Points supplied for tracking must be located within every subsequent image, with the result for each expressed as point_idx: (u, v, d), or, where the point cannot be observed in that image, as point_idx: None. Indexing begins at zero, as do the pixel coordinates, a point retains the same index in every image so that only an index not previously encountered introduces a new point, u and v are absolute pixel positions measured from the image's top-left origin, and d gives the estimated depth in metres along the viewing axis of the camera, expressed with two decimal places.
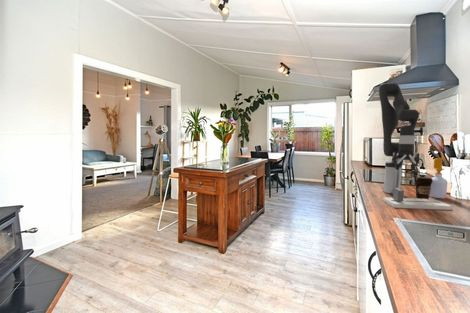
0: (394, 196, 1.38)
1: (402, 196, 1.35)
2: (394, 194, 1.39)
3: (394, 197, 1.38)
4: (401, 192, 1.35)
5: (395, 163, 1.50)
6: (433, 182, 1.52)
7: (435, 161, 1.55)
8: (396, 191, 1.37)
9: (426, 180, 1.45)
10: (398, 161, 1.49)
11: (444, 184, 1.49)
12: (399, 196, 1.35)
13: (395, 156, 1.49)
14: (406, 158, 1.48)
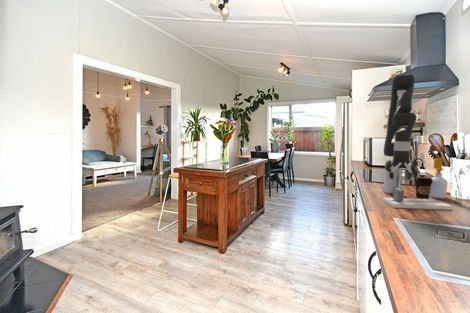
0: (394, 196, 1.38)
1: (402, 196, 1.35)
2: (394, 194, 1.39)
3: (394, 197, 1.38)
4: (401, 192, 1.35)
5: (389, 171, 1.37)
6: (433, 182, 1.52)
7: (435, 161, 1.55)
8: (396, 191, 1.37)
9: (426, 180, 1.45)
10: (392, 169, 1.35)
11: (444, 184, 1.49)
12: (399, 196, 1.35)
13: (389, 164, 1.35)
14: (401, 166, 1.35)
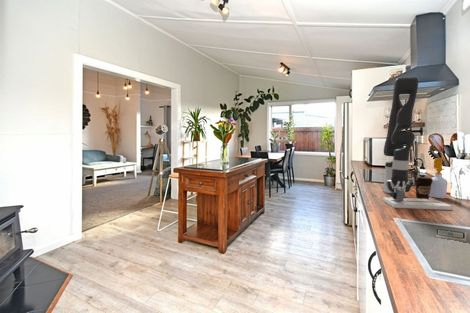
0: None
1: (402, 196, 1.35)
2: None
3: None
4: (402, 192, 1.35)
5: (392, 191, 1.38)
6: (433, 182, 1.52)
7: (435, 161, 1.55)
8: None
9: (426, 180, 1.45)
10: (395, 190, 1.36)
11: (444, 184, 1.49)
12: (399, 196, 1.35)
13: (389, 185, 1.36)
14: (399, 185, 1.36)
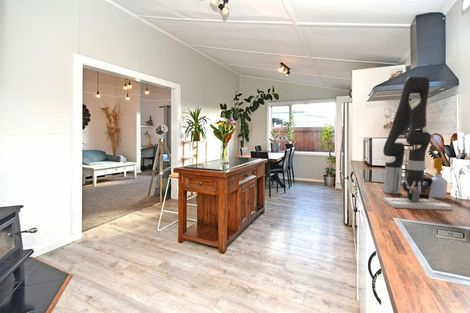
0: None
1: (418, 196, 1.34)
2: None
3: None
4: (417, 192, 1.34)
5: (407, 192, 1.37)
6: (433, 182, 1.52)
7: (435, 161, 1.55)
8: None
9: (426, 180, 1.45)
10: (410, 190, 1.35)
11: (444, 184, 1.49)
12: (414, 196, 1.34)
13: (405, 185, 1.35)
14: (415, 185, 1.35)
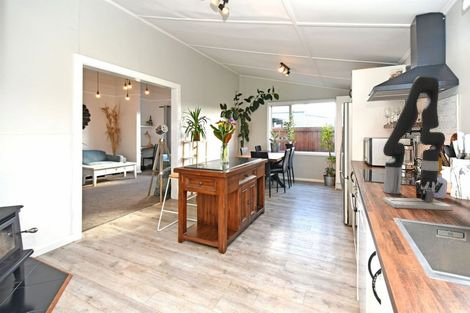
0: None
1: (432, 197, 1.33)
2: None
3: None
4: (431, 193, 1.33)
5: (421, 192, 1.36)
6: None
7: None
8: None
9: None
10: (424, 191, 1.35)
11: (444, 184, 1.49)
12: (428, 197, 1.33)
13: (418, 186, 1.35)
14: (429, 185, 1.34)
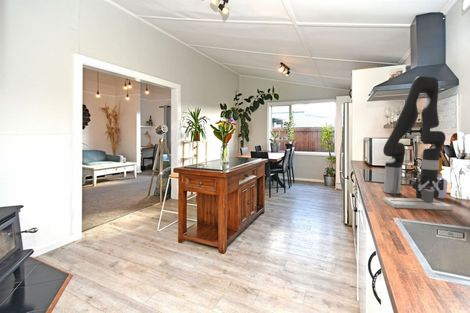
0: (423, 197, 1.36)
1: (432, 197, 1.33)
2: (423, 195, 1.37)
3: (423, 198, 1.37)
4: (431, 193, 1.33)
5: (416, 189, 1.36)
6: None
7: None
8: (425, 192, 1.35)
9: None
10: (420, 188, 1.35)
11: (444, 184, 1.49)
12: (428, 197, 1.33)
13: (417, 182, 1.35)
14: (429, 185, 1.34)
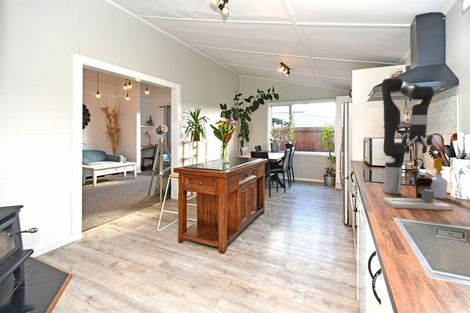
0: (423, 197, 1.36)
1: (432, 197, 1.33)
2: (423, 195, 1.37)
3: (423, 198, 1.37)
4: (431, 193, 1.33)
5: (405, 146, 1.38)
6: (433, 182, 1.52)
7: (435, 161, 1.55)
8: (425, 192, 1.35)
9: (426, 180, 1.45)
10: (408, 143, 1.36)
11: (444, 184, 1.49)
12: (428, 197, 1.33)
13: (405, 138, 1.36)
14: (417, 140, 1.36)
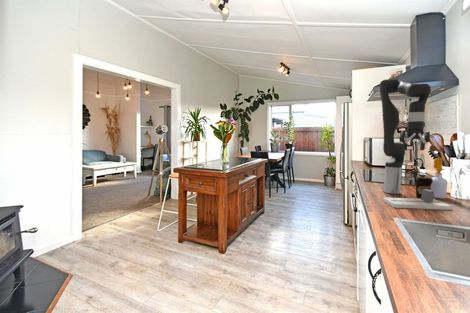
0: (423, 197, 1.36)
1: (432, 197, 1.33)
2: (423, 195, 1.37)
3: (423, 198, 1.37)
4: (431, 193, 1.33)
5: (403, 143, 1.39)
6: (433, 182, 1.52)
7: (435, 161, 1.55)
8: (425, 192, 1.35)
9: (426, 180, 1.45)
10: (406, 140, 1.37)
11: (444, 184, 1.49)
12: (428, 197, 1.33)
13: (403, 135, 1.37)
14: (415, 137, 1.36)
